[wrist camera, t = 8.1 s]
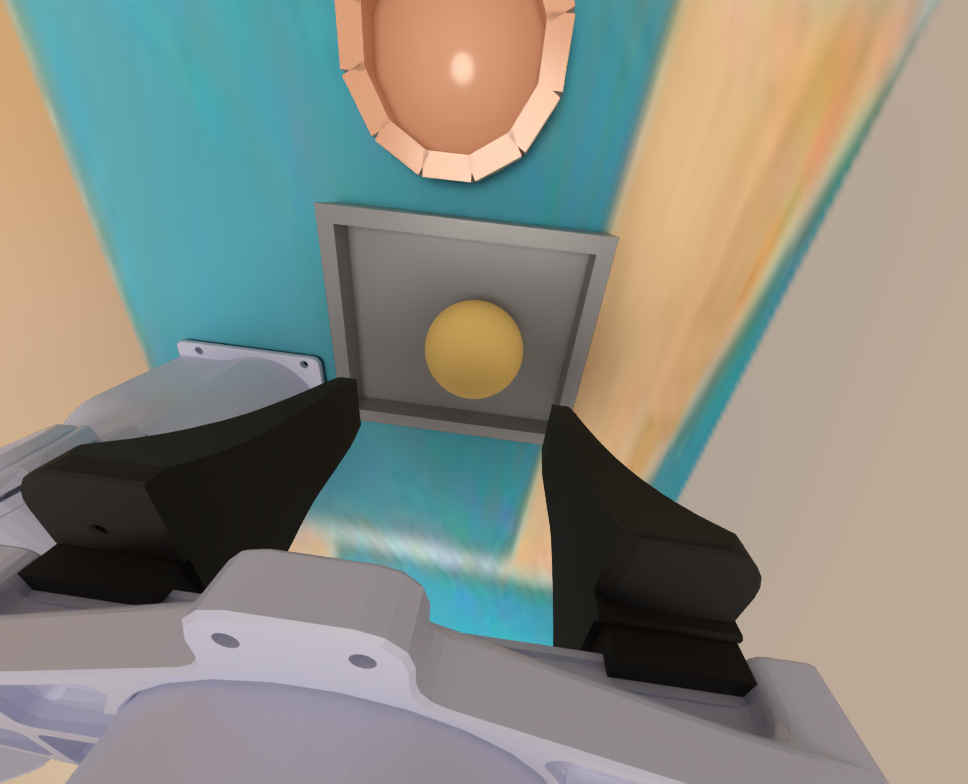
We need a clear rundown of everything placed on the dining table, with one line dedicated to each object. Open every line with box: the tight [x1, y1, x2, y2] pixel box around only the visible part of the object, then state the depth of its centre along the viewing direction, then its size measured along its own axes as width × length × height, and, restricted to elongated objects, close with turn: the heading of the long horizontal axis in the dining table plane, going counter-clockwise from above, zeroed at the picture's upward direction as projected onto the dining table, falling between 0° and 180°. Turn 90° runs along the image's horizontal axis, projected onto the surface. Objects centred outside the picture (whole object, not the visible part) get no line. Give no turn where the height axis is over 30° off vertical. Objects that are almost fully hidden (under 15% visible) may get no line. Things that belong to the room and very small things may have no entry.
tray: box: [314, 202, 619, 445], centre depth 20 cm, size 14×12×2 cm
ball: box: [425, 300, 523, 399], centre depth 18 cm, size 5×5×5 cm
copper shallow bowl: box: [335, 0, 575, 183], centre depth 14 cm, size 9×9×2 cm
